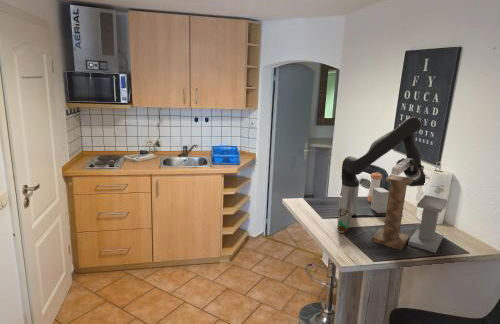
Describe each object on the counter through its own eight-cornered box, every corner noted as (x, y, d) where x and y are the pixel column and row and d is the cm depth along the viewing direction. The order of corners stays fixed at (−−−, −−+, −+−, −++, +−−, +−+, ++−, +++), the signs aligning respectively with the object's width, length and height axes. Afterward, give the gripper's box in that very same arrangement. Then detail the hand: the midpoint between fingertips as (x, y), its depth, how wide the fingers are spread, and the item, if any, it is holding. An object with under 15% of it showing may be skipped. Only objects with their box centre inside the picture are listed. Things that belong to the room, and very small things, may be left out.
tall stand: (371, 240, 170) (379, 178, 161) (380, 231, 180) (388, 172, 172) (401, 250, 162) (411, 185, 153) (409, 239, 172) (418, 178, 164)
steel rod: (391, 174, 156) (392, 167, 155) (405, 163, 174) (406, 157, 173) (398, 175, 154) (399, 168, 153) (411, 164, 172) (412, 158, 172)
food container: (350, 236, 174) (353, 218, 171) (338, 235, 175) (340, 216, 172) (349, 226, 185) (351, 208, 183) (337, 224, 186) (339, 207, 184)
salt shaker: (370, 197, 228) (374, 169, 223) (381, 201, 223) (385, 172, 218) (365, 200, 223) (368, 172, 218) (375, 203, 218) (379, 174, 213)
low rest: (408, 244, 167) (414, 203, 162) (417, 231, 181) (423, 193, 176) (435, 252, 160) (443, 210, 155) (442, 238, 174) (450, 199, 168)
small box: (387, 212, 205) (390, 191, 201) (377, 213, 203) (380, 192, 200) (379, 207, 212) (382, 187, 209) (370, 208, 211) (372, 187, 208)
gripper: (399, 162, 187) (393, 151, 173) (428, 167, 178) (424, 155, 165) (396, 175, 185) (389, 165, 172) (424, 180, 177) (420, 170, 163)
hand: (406, 160), depth 168 cm, fingers closed on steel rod, 3 cm apart
